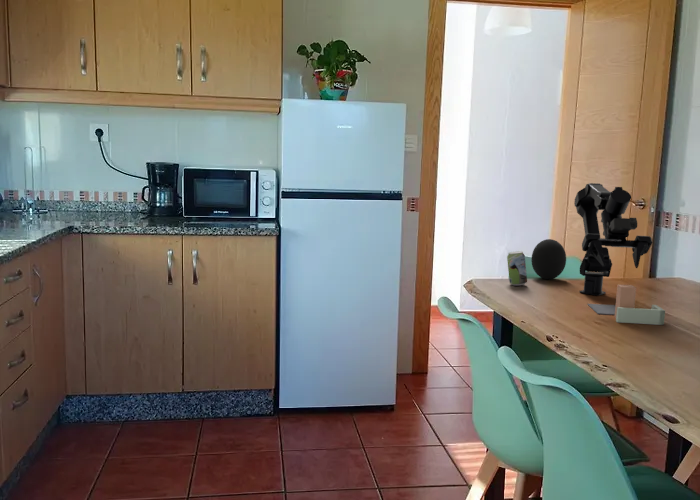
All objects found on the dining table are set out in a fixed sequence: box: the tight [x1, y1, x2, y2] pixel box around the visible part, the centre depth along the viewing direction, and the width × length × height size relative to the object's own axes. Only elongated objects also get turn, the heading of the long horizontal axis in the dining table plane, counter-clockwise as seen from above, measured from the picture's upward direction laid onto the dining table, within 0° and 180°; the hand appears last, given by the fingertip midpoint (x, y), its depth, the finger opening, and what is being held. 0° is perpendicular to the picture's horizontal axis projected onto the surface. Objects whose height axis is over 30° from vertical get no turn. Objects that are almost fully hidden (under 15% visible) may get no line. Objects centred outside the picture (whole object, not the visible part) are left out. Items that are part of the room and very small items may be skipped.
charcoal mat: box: [587, 303, 616, 316], centre depth 184 cm, size 12×12×1 cm
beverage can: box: [506, 250, 528, 286], centre depth 217 cm, size 6×7×12 cm
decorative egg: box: [530, 238, 567, 280], centre depth 229 cm, size 12×12×15 cm
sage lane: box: [615, 304, 666, 326], centre depth 172 cm, size 7×12×4 cm, turn 83°
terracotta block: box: [614, 284, 637, 319], centre depth 173 cm, size 4×4×10 cm
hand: (620, 266), depth 179 cm, fingers open, 9 cm apart
